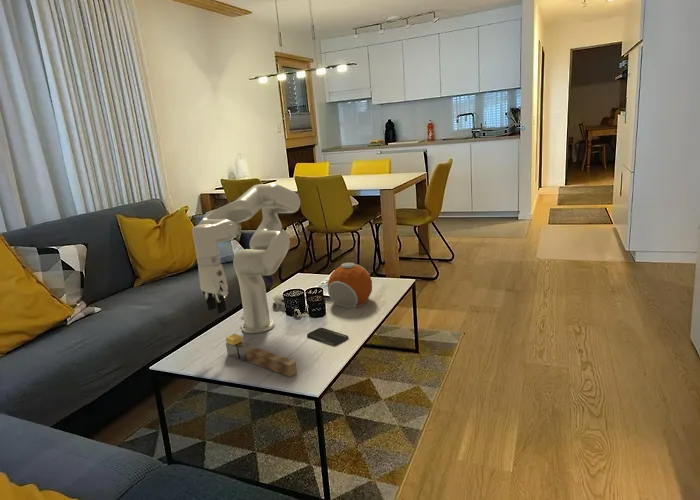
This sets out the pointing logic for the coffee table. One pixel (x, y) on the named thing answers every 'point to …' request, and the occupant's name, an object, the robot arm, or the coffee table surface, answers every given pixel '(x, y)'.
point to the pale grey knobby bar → (281, 306)
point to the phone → (327, 336)
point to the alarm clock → (349, 285)
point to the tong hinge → (238, 350)
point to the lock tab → (233, 339)
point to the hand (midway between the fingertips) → (217, 310)
